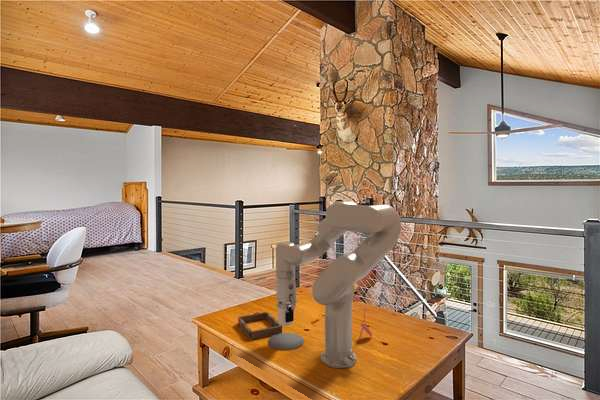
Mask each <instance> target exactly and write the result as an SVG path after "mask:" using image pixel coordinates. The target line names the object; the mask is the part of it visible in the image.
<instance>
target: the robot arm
mask: <svg viewBox="0 0 600 400" xmlns="http://www.w3.org/2000/svg"><path fill="white" fill-rule="evenodd" d="M316 231H317V234H316V235H315V236H314V237H313V238H312V239H310V240H308V241H307V242H304V243H303V242H302V243H299V244H295V243H294V242H291V241H281V242H278V243H277V244H276V246H275V247H276V248H275V249H276V250H275V278H276V288H275V289H276V290H275V292H276V300H277V305H278V304H280V303H283V304H285V306H286V312H285V322H286V323H287V322H293V323H294V319H295V318H294V314H295V313H294V312H295V310H296V309H295V308H296V306H297V305H296V304H297V300H298V299H297V298H298V297H297V284H296V266H301V265H304V264H308V263H310V262H313V261H315V260H317V259H319V258H320V257H321V256H323V255H324V254H325V253H327V252H328V251H329V250H330V249H331V247H333V245H334V243H335V242H336V241H337V240H338V239H340V238H341V237H342V236H343V235H345V234H346V233H347V232H348V231H349V232H356V233H360V234H369V235H367V236H366V237H365V238H364V239H363V240H362V241H361V242H360V243H359V244H358V245H357V246H356V247H355V249H353V250H352V251H350V252H348V253H344V254H342V255H340V256H338V257H336V258H335V259H334V260H332V261H331V262H330V264H328V266H327V267H326V268H325V269H324V270H323V271H322V272H321V273H320V274H319V276H318V277H317V278H316V279H315V280H314V282H313V283H312V288H311V293H312V297H313V299H314V300H315V302H317V303H318V304H319V305H322V306H324V307H325V308H324V309H325V310H324V311H325V312H324V348H325V349H324V350H323V351H322V352H321V353H320V360H321V362H322V363H323V364H325V365H326V366H328V367H330V368H334V369H335V368H336V369H347V368H352V367H353V365H355V364H356V363H357V354H356V353H354V350H353V303H354V302H353V301H354V300H353V297H354V296H355V295H354V293H355V283H356V282H359V281H362V280H364V279H363V278H364V277H366V276H367V274H368V273H369V272H370V271H373V269H374V268H375V267H376V266H377V265H378V264H379V263H380V262H381V261H382V260H383V259H384V257H386V256H387V254H388V253H390V251H391V250H393V248H394V246H396V244H397V242H398V241H399V238H400V236H401V231H402V221H401V218H400V214H399V213H398V211H397V210H396V209H395V207H393V206H391V205H388V204H375V205H374V204H373V205H363V204H357V203H356V202H354V201H350V200H349V201H347V200H345V201H337V202H333V203H331V204H330V205H329V206H328V208H327V210H326V212H325V218H324V219H323V220H321V221H320V222H319V223H318V225H316ZM356 284H357V283H356ZM287 303H290V304H287ZM289 305H291V307H289V309H288V306H289Z"/></svg>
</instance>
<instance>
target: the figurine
mask: <svg viewBox="0 0 600 400" xmlns="http://www.w3.org/2000/svg"><path fill="white" fill-rule="evenodd" d="M371 275H372V276H373V277H374V278H375V279H376V280H377V281H378V282H380V283H381V285H383V286H385V284H384V283H383V281H382V280H381V279H380V278H379V277H378V276H377V275H376V274H375V273H374V272H373V270H371V271H370V272H369V273H368V274H367V276H366V277H364V278H363V279H362V280H363V281H362V282H359V281H357V282H356V284H358V288H357V293H356V295H354V296H353V301H354V302H355V303H358V302H359V303H360V305H361V306H362V307H363V309H364V311H363V323H360V322H355V324H356V325H357V324H358V325H360V326H361V330H360V333H359V336H358V340H359V341H360V340H361V338H362V334H363V331H364V332H366V333H367V334H368V335H369V336H370V337H371V338H372V337H373V334H372V332H371V330H370V329H369V328H368V327H370V328H372V329H375V330H376V331H378V329H377V328H375V327H372V326H371V325H369V324H368V325H367V324H365V320H366V308H365V306H364V305H363V303H362V302H361V300H360V297H359V292H360V291H359V290H360V288H361V287H363V285H364V284H365V282H366V281H367V279H368V278H369V277H370V276H371ZM371 345H372V343H371V344H369V346H371Z"/></svg>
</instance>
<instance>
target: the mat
mask: <svg viewBox="0 0 600 400" xmlns="http://www.w3.org/2000/svg"><path fill="white" fill-rule="evenodd" d="M304 340H305V339H304V338H303V337H302V336H301V335H300V334H297V333H291V332H282V333H280V334H276V335H272V336H269V338H268V341H267V342H268V345H269V347H270V348H272V349H275V350H279V351H280V350H281V351H292V350H296V349H298V348H300V347H302V346H303V345H304V343H305V341H304Z"/></svg>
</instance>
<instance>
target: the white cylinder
mask: <svg viewBox="0 0 600 400" xmlns="http://www.w3.org/2000/svg"><path fill="white" fill-rule="evenodd" d="M287 304H290V302H287ZM289 307H291V305H289V306H288V309H289ZM276 312H277V321H278V323H279V324H280V325H282V327H283V326H285V327H286V326H290V325H292V324H293V323H294V321H293V322H287V323H286V322H285V312H286V306H285V304H283V303H280V304H277V305H276Z"/></svg>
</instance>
